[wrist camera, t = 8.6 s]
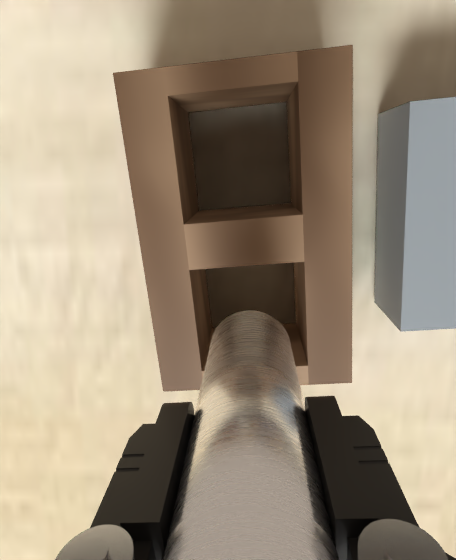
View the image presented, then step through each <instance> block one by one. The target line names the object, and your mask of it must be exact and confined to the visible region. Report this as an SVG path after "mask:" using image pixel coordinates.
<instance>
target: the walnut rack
mask: <svg viewBox="0 0 456 560" xmlns="http://www.w3.org/2000/svg"><path fill="white" fill-rule="evenodd" d="M113 76H114V83H115V89H116V95H117V102H118V108H119V114H120V121H121V127H122V133H123V140H124V146H125V152H126V159H127V165H128V171H129V178H130V184H131V190H132V197H133V203H134V209H135V216H136V222H137V228H138V235H139V241H140V247H141V253H142V260H143V266H144V272H145V279H146V285H147V291H148V298H149V304H150V310H151V317H152V323H153V329H154V336H155V342H156V348H157V355H158V361H159V367H160V374H161V380H162V386H163V391H183V390H200V388H201V384H202V379H203V375H204V370H205V366H206V361H207V357H208V352H209V348H210V343H211V339H212V335H213V333H214V331H215V329H216V328H212V324H211V315H210V306H209V297H208V288H207V279H206V270H205V269H210V268H224V267H238V266H251V265H265V264H279V263H293V264H294V288H295V311H296V323H289V324H282V325H283V327H284V328H285V330H286V331H287V333H288V336H289V339H290V344H291V348H292V352H293V357H294V361H295V366H296V370H297V375H298V379H299V384H300V385H312V384H334V383H352V102H353V45H348V46H339V47H331V48H322V49H313V50H305V51H296V52H288V53H279V54H271V55H262V56H254V57H245V58H237V59H228V60H220V61H211V62H202V63H194V64H185V65H177V66H168V67H160V68H151V69H143V70H134V71H126V72H117V73H113ZM281 102H287V124H288V147H289V171H290V194H291V203H284V204H273V205H261V206H249V207H238V208H226V209H214V210H202V211H199V206H198V197H197V188H196V179H195V170H194V161H193V152H192V143H191V134H190V125H189V116H188V112H196V111H206V110H215V109H225V108H234V107H243V106H253V105H262V104H271V103H281Z"/></svg>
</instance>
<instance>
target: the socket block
mask: <svg viewBox="0 0 456 560" xmlns="http://www.w3.org/2000/svg"><path fill="white" fill-rule="evenodd" d="M375 303H376V304H377V305H378V307H379V308H380V309H381V310H382V311H383V312H384V313H385V314H386V316H387V317H388V318H389V319H390V320H391V321H392V322H393V323H394V325H395V326H396V327H397V328H398V329H399V330H400V331H417V330H435V329H453V328H456V97H449V98H439V99H430V100H420V101H410V102H408V103H405V104H403V105H400V106H397V107H395V108H392V109H390V110H387V111H385V112H382V113H380V114H378V158H377V208H376V258H375Z"/></svg>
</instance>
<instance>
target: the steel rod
mask: <svg viewBox="0 0 456 560" xmlns="http://www.w3.org/2000/svg"><path fill="white" fill-rule="evenodd" d="M163 560H339V558H338V554H337V551H336V547H335V543H334V538H333V534H332V529H331V525H330V520H329V516H328V511H327V507H326V502H325V498H324V493H323V489H322V484H321V480H320V475H319V471H318V466H317V462H316V457H315V453H314V448H313V444H312V439H311V435H310V430H309V426H308V421H307V417H306V412H305V406H304V401H303V397H302V393H301V388H300V384H299V379H298V375H297V370H296V366H295V361H294V357H293V352H292V348H291V344H290V339H289V336H288V333H287V331H286V330H285V328H284V327H283V325H282V324H281V323H280V322H279V321H278V320H277V319H275V318H274V317H272V316H270V315H269V314H266V313H263V312H260V311H253V310H247V311H241V312H237V313H234V314H232V315H230V316H228V317H227V318H225V319H224V320H223V321H222V322H221V323H219V325H218V326H217V327H216V329H215V331H214V333H213V335H212V339H211V343H210V348H209V352H208V357H207V361H206V366H205V370H204V375H203V379H202V384H201V388H200V393H199V398H198V402H197V407H196V411H195V416H194V420H193V425H192V429H191V434H190V438H189V443H188V448H187V452H186V457H185V461H184V466H183V470H182V475H181V479H180V484H179V488H178V493H177V498H176V502H175V507H174V511H173V516H172V520H171V525H170V529H169V534H168V538H167V543H166V547H165V552H164V556H163Z"/></svg>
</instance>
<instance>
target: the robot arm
mask: <svg viewBox="0 0 456 560" xmlns="http://www.w3.org/2000/svg"><path fill="white" fill-rule="evenodd" d="M305 412H306V417H307V421H308V426H309V430H310V435H311V439H312V444H313V448H314V453H315V457H316V462H317V466H318V471H319V475H320V480H321V484H322V489H323V493H324V498H325V502H326V507H327V511H328V516H329V520H330V525H331V529H332V534H333V538H334V543H335V547H336V551H337V554H338V558H339V560H456V558H454V557H452V556H450V555H449V554H447V553H445V552H444V550H443V549H442V547H441V546H440V545H439V544H438V542H437V541H436V540H435V539H434V538H433V537H432V536H431V535H429V534H428V533H427V532H425V531H424V530H422V529H421V528H420V527H419V526H418V524H417V522H416V520H415V518H414V516H413V513H412V511H411V509H410V507H409V505H408V503H407V501H406V498H405V496H404V494H403V492H402V490H401V488H400V485H399V483H398V481H397V479H396V477H395V475H394V472H393V470H392V468H391V466H390V464H388V460H387V457H386V455H385V453H384V451H383V449H382V448H381V444H380V442H379V440H378V438H377V436H376V434H375V432H374V429H373V428H372V427H370V426H369V425H368V424H367V423H366V422H365V421H364V420H363V419H362V418H360V417H359V416H342V415H341V412H340V409H339V407H338V404H337V401H336V398H335V397H334V396H320V397H305ZM194 416H195V415H194V408H193V404H192V402H182V403H164V404H163V405H162V407H161V410H160V413H159V416H158V418H157V421H156V424H143V425H142V426H141V427H140V428H139V429H138V430H137V431H136V432H135V433H134V434H133V435H132V436H131V437H130V438H129V440H128V443H127V445H126V447H125V449H124V452H123V454H122V458H121V459H120V461H119V463H118V465H117V468H116V472H114V475H113V477H112V479H111V481H110V484H109V486H108V488H107V491H106V493H105V495H104V497H103V500H102V502H101V504H100V507H99V509H98V511H97V513H96V516H95V518H94V520H93V523H92V525H91V527H90V528H89V529H87V530H85V531H83V532H81V533H80V534H78V535H77V536H75V537H74V538H73V539H72V540H70V541H69V542H68V543H67V544H66V545H65V546H64V547H63V549H62V550H61V551H60V553H59V554H58V556H57V557H56V559H55V560H163V556H164V552H165V547H166V543H167V538H168V534H169V529H170V525H171V520H172V516H173V511H174V507H175V502H176V498H177V493H178V488H179V484H180V479H181V475H182V470H183V466H184V461H185V457H186V452H187V448H188V443H189V438H190V434H191V429H192V425H193V420H194Z"/></svg>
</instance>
